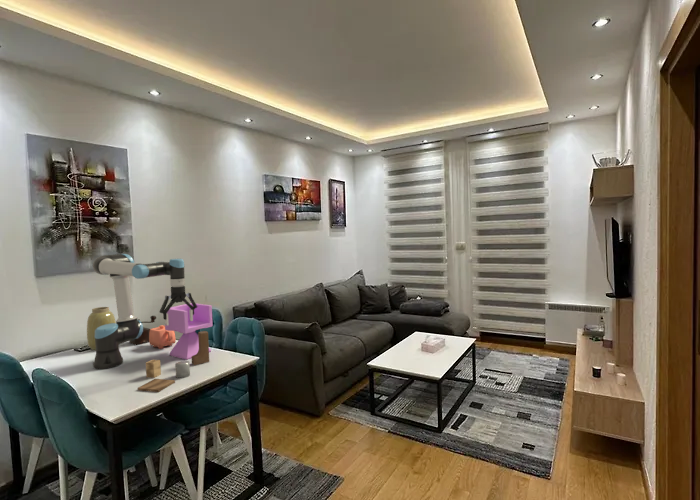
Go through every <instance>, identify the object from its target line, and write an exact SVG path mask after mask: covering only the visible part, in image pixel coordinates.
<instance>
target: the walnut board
mask: <svg viewBox="0 0 700 500" xmlns="http://www.w3.org/2000/svg"><path fill="white" fill-rule="evenodd" d="M175 383H176V380H173V379H166V378H165V379H164V378H163V379H162V378H152V379H151V380H150V381H148V382H146V383H144V384H143V385H140V386H138V387H137V391H142V392H151V393H153V392H154V393H159V392H161V391H163V390H165V389H166V388H168V387H170V386H171V385H174V384H175Z"/></svg>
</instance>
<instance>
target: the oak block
mask: <svg viewBox="0 0 700 500" xmlns="http://www.w3.org/2000/svg"><path fill="white" fill-rule="evenodd" d="M161 367H162V366H161V359H151V360H149V361H147V362H145V376H146V378H149V379H150V378H151V379H156V378H157V377H159V376H160V375H162V369H161Z"/></svg>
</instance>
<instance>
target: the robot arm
mask: <svg viewBox="0 0 700 500" xmlns="http://www.w3.org/2000/svg"><path fill="white" fill-rule="evenodd" d="M92 269H93V271H94V272H95V273H96V274H98V275H104V276H108V275H109V278H110V279H112V280H113V287H114V295H115V300H116V301H115V302H116V304H115V305H116V309H117V316H118V317H117V319H116V320H115V321H116V323H110V324H105V325H102V326H100V327H98V328H97V329H96V330H95V346H96V350H95V356H94V359H93V360H94V361H93V363H92V368H93V369H95V370H106V369H111V368H115V367H119V366H121V365H122V364H123V363H124V358H123V356H122V354H121V351H120V344H124V343H127V342H129V341H132V340H134V339H137V338H139V337H140V336H141V334H142V332H143V327H144V324H143V323H141V322H142V321H141V320H138V317H137V316H136V315H135V311H134V304H133V297H132V289H131V282H130V277H134V278H135V279H137V280H139V279H140V280H141V279H146V278H152V277H160V276H169V279H170V280H169V281H170V295H165V296H164V301H163V303H162V305H161V307H160V310H159V313H160V314H163V320H165V323H164V325H165V324H166V325H169V323H168V313H167V312H168V311H169V309H170V308H171V307H173V305H174V304H176V303H184V304H187V305H188V306H189V307H190V308H191V309H189V312H190V321H193V315H194V309H195V308H197V305H196V304H197V302H195V300H194V298H193V297H192V293H191V292H186V286H185V285H186V278H185V275H186V274H185V261H184V259H183V258H171V259H169V262H168V261H157V262H151V263H141V262H140V263H139V262H135V260H134V259H133V257H132V256H131V255H129V254H128V253H119V254H117V253H116V254H108V255H107V254H104V255H100V256H98V257H96V258H95V259H94V261H93V262H92ZM186 297H187V298H188V299H189V301H190V302H189V301H188V300H187V299H186ZM170 299H171V300H170ZM169 300H170V301H169ZM190 303H192V305H193V306H192V305H191V304H190Z"/></svg>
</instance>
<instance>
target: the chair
mask: <svg viewBox="0 0 700 500" xmlns="http://www.w3.org/2000/svg"><path fill="white" fill-rule="evenodd" d="M189 303H190V304H191V305H192V303H191V302H189ZM196 305H197V308H195V309H194V315H193V321H190V312H189V309H191V308H190V307H189V306H188V305H187V304H185V303H184V304H181V305H174V306H172V307H171V308H170V309H169V311H168V312H167V313H168V323H169V325H166V324H165V323H164V326H165V330H168V331H174V332H178V333H180V334H182V335H181V336H180V337H179V339H178V341H177V342H175V344H174V346H173V348H171V350H170V352H169V357H175V358H179V359H181V358H182V360H185V359H186V360H185V361H188V359H189V360H192V356H194V355H196V354H197V353H198V351H199V340H198V333H197V332H196V331H198V330H201V329H208V328H211V327H213V325H214V324H213V307H212V304H211V305H210V304H205V303H204V304H202V303H196ZM192 306H193V305H192ZM211 352H212V349H211V348H210V347H209V353H211Z"/></svg>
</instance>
